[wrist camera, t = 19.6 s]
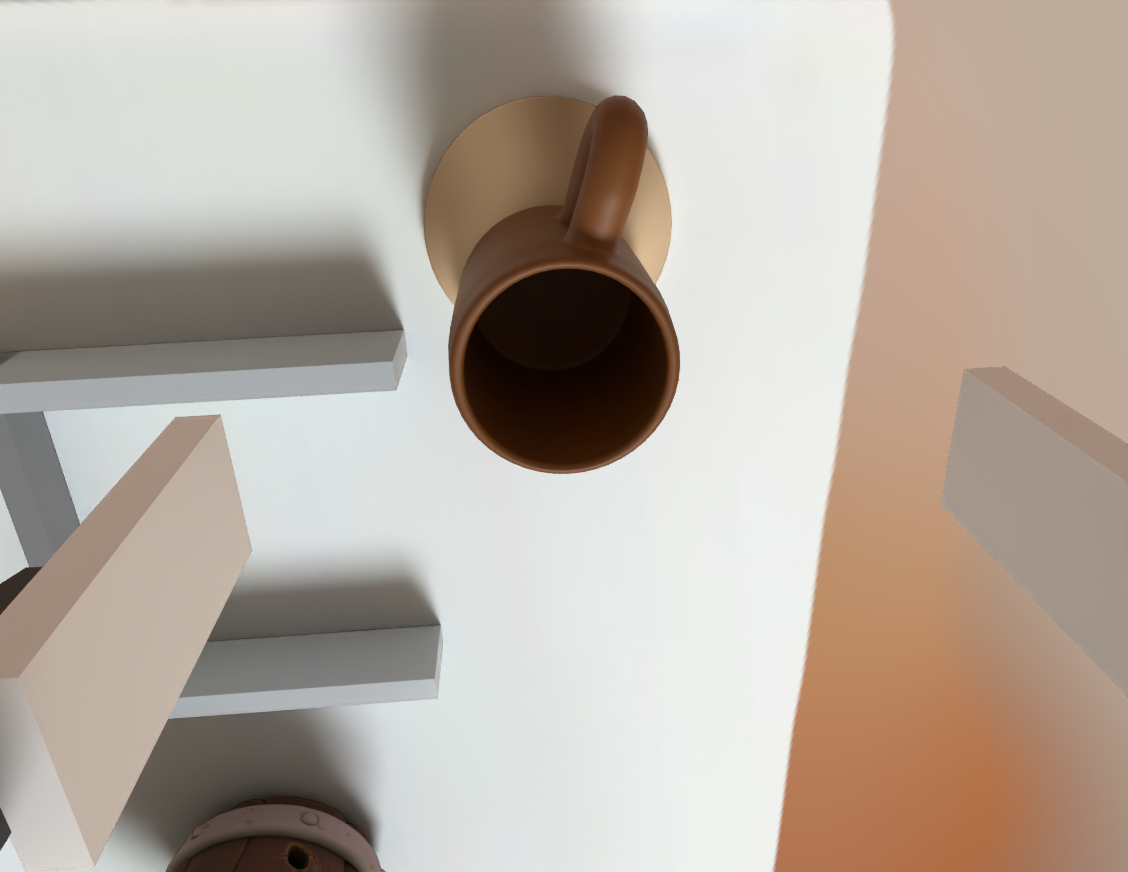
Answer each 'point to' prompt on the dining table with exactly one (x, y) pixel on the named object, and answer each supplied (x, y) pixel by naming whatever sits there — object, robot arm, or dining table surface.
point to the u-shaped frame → (200, 374)
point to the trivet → (526, 184)
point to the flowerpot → (276, 841)
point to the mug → (567, 318)
